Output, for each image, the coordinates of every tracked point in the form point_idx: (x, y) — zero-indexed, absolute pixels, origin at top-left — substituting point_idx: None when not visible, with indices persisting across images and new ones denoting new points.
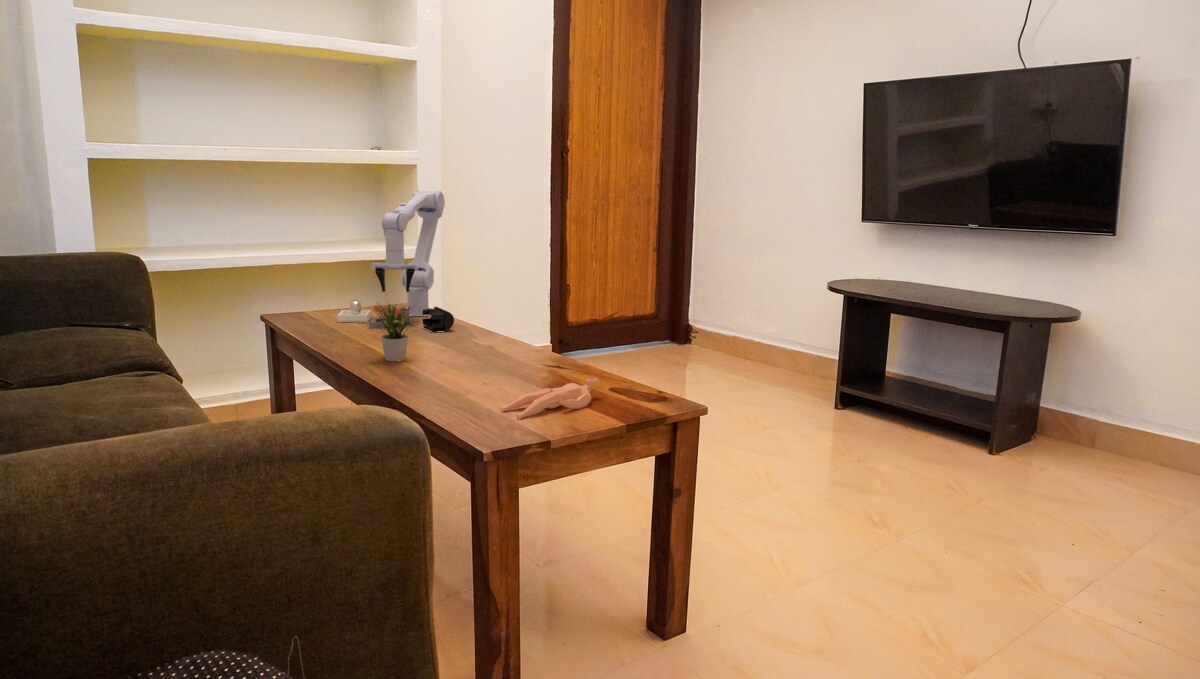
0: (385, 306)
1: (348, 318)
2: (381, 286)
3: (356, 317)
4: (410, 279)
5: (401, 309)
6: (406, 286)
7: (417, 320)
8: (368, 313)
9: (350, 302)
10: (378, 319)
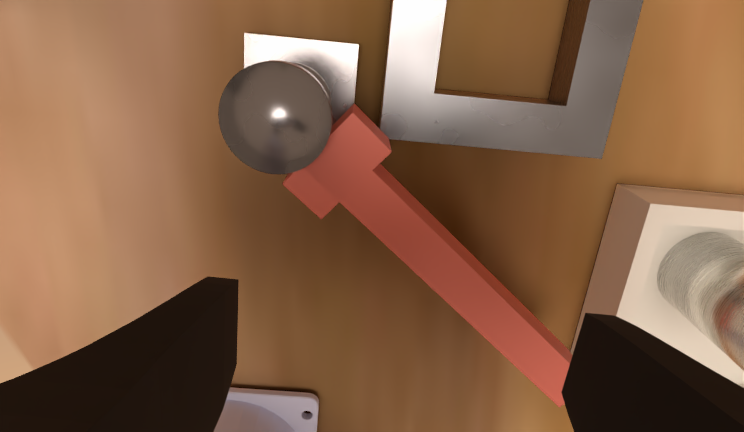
0: (495, 321)
1: None
2: (684, 357)
3: (728, 205)
4: (3, 385)
5: (337, 140)
6: (201, 312)
7: (223, 253)
8: (625, 285)
9: None
10: (553, 105)
